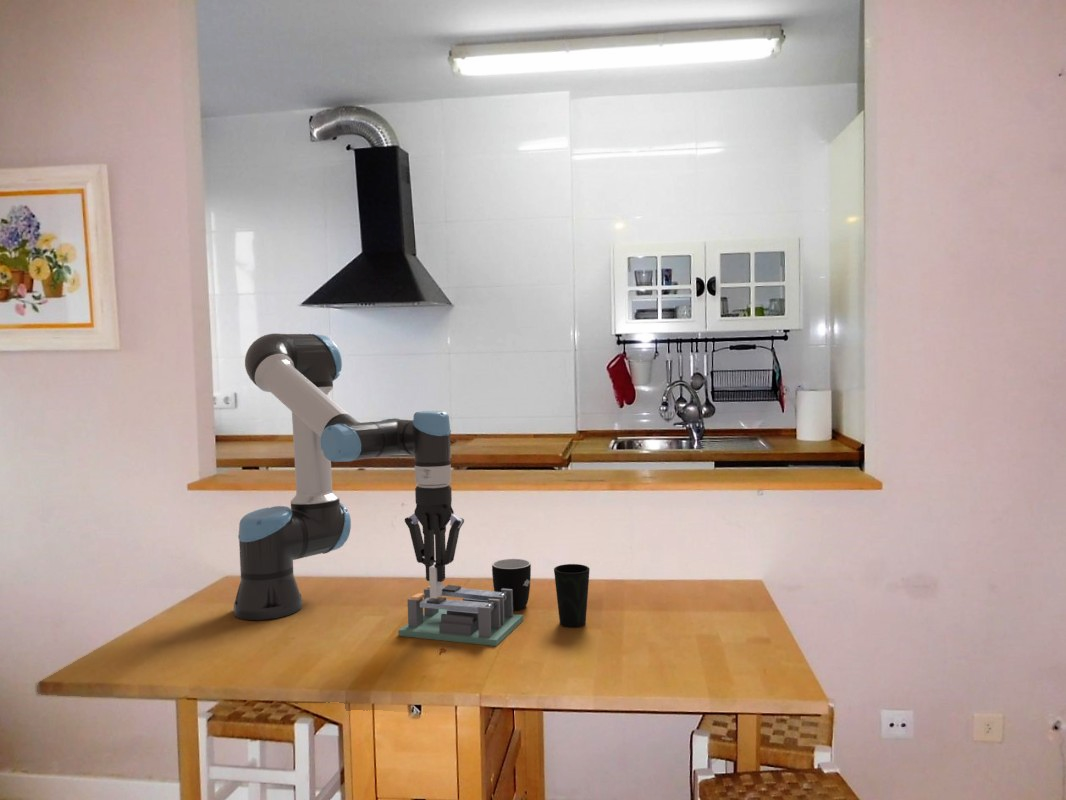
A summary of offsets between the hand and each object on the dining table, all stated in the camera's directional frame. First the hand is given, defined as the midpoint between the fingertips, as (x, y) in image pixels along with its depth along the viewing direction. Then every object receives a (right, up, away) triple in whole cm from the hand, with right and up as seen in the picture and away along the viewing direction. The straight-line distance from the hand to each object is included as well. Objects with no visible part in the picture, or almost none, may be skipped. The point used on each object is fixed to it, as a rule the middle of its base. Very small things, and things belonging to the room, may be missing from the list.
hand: (436, 596), depth 161 cm
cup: (+29, -7, +4) cm, 30 cm away
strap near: (+5, -2, -2) cm, 6 cm away
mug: (+16, -7, +18) cm, 25 cm away
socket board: (+5, -8, +3) cm, 10 cm away
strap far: (+7, -2, +6) cm, 9 cm away
